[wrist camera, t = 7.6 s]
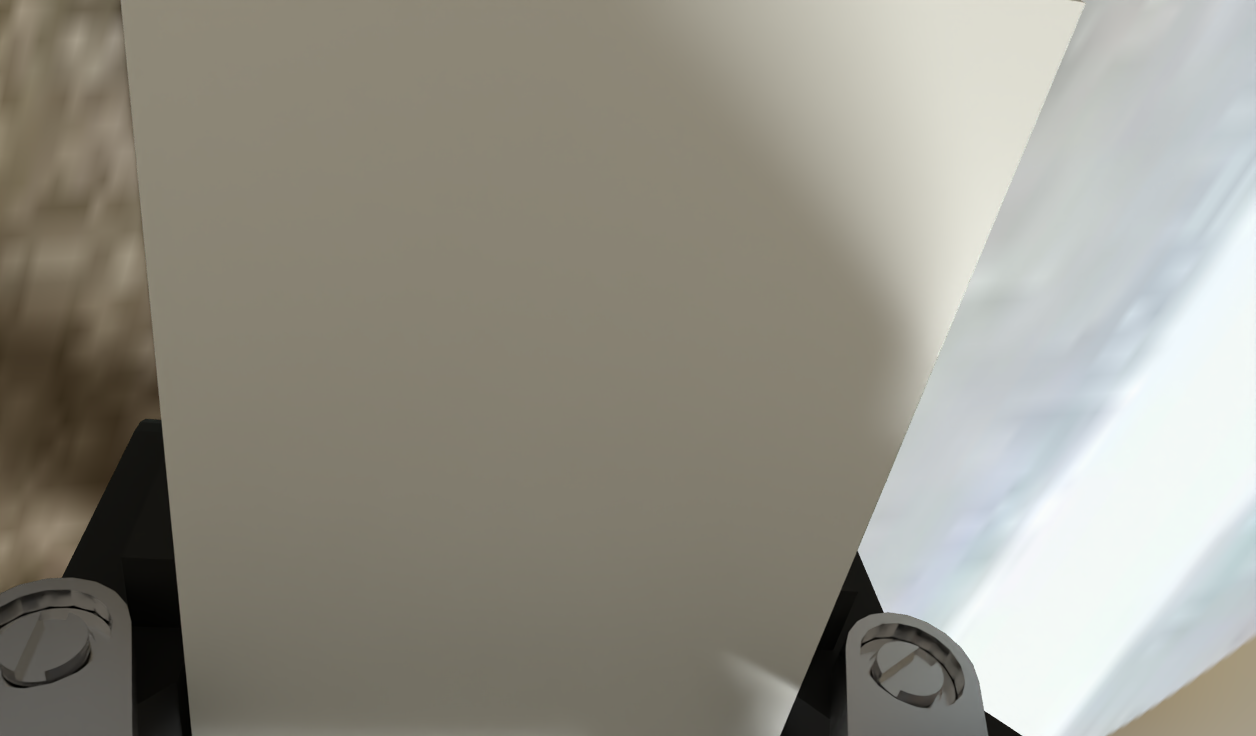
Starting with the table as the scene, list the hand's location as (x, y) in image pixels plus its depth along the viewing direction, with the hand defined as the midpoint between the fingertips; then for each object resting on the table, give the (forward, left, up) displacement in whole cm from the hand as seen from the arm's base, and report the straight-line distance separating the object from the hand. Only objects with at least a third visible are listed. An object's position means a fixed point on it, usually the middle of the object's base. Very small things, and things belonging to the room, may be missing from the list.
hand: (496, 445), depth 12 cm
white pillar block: (0, 0, -1) cm, 1 cm away
